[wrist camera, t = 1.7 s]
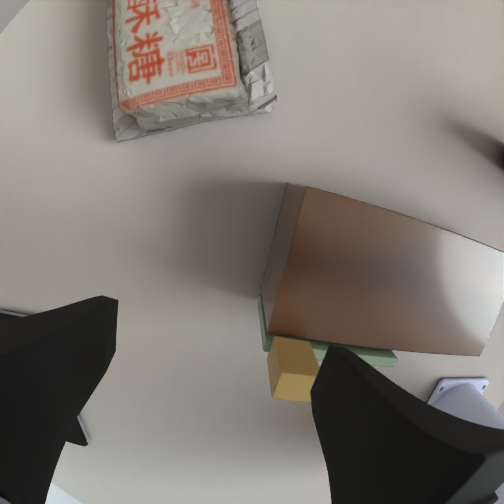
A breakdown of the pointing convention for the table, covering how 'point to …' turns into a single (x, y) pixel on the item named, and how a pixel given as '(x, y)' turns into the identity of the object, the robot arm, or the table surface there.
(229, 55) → the packaged product
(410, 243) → the cupboard
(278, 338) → the sliding door
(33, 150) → the table surface
